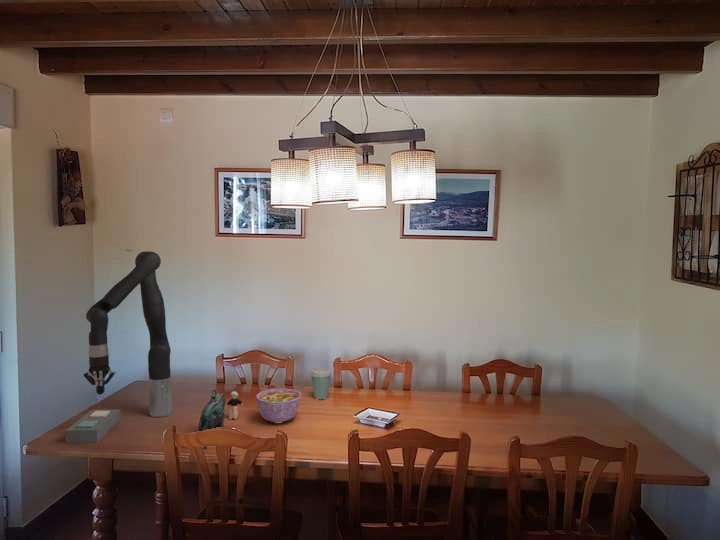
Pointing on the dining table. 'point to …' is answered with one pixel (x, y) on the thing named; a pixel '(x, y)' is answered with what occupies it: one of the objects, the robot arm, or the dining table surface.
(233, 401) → the grandmother figurine
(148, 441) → the dining table surface
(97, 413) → the cream key
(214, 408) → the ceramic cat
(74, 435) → the key box
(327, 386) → the disposable coffee cup
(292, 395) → the bowl of food
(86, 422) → the teal key
